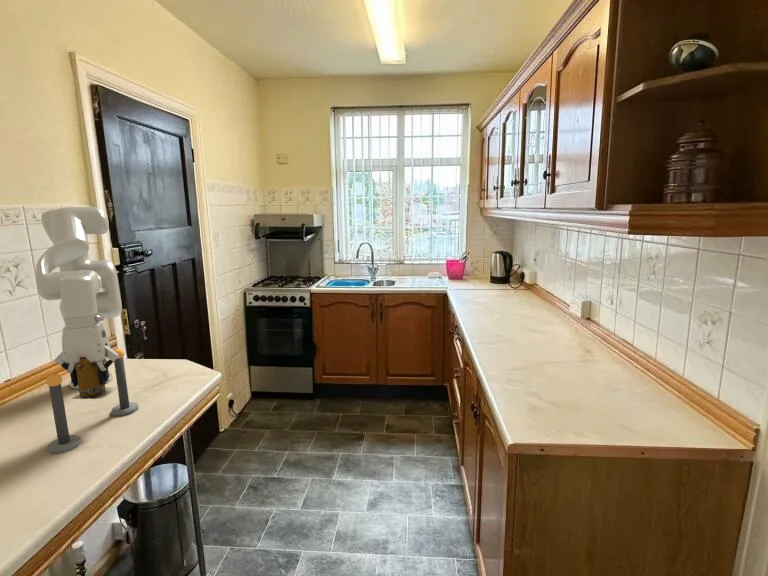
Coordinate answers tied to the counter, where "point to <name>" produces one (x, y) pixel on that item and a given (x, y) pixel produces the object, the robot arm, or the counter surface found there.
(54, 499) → the counter surface
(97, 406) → the counter surface
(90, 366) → the condiment
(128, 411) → the stand
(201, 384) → the counter surface
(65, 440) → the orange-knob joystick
